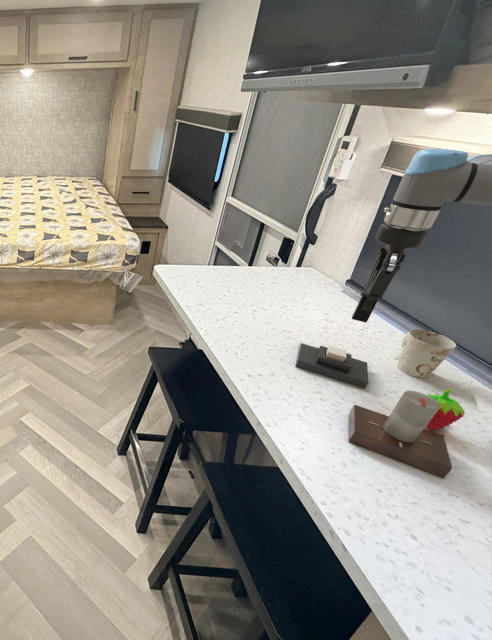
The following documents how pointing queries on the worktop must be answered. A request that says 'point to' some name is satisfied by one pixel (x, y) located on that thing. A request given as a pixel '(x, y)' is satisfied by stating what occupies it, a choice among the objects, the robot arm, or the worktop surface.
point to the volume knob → (410, 416)
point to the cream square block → (336, 353)
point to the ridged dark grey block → (332, 366)
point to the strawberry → (445, 411)
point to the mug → (423, 352)
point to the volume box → (399, 443)
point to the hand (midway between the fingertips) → (359, 319)
